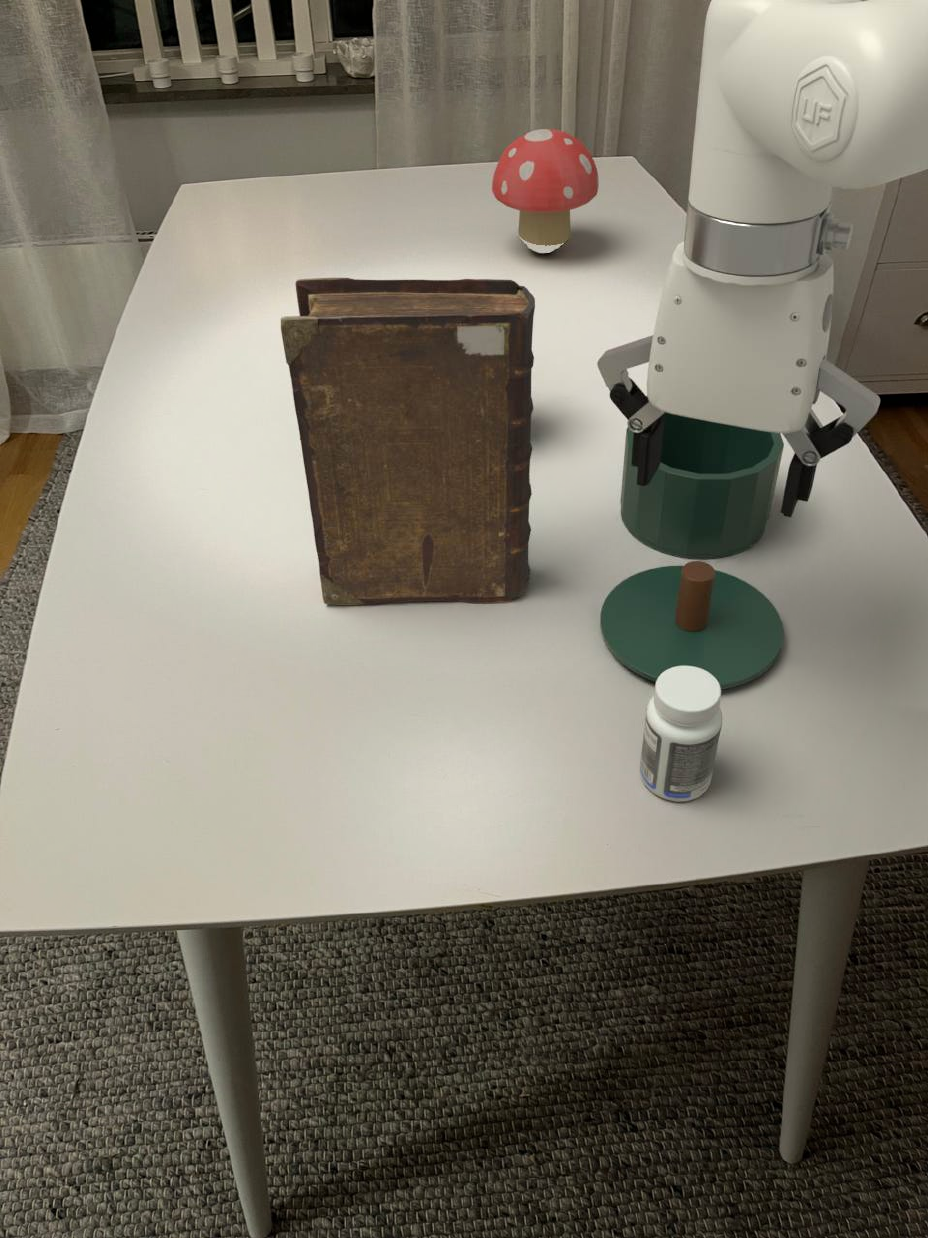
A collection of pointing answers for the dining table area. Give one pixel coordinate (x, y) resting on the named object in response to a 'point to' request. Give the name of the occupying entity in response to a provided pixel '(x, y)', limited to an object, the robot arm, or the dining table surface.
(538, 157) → the decorative mushroom
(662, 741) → the pill bottle
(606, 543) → the dining table surface
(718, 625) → the tin lid
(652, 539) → the tin
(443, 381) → the book
